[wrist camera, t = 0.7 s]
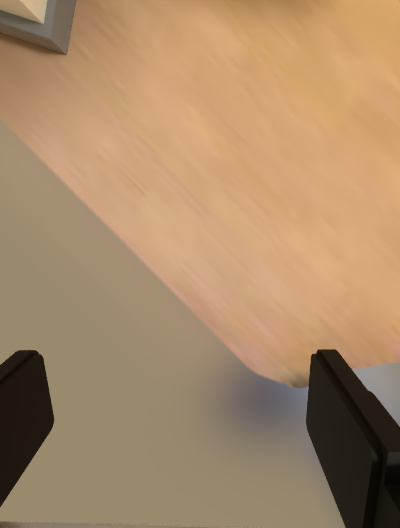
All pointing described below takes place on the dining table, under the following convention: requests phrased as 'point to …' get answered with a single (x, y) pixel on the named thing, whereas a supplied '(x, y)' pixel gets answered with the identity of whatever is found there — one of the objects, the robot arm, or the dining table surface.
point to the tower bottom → (43, 26)
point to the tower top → (26, 9)
